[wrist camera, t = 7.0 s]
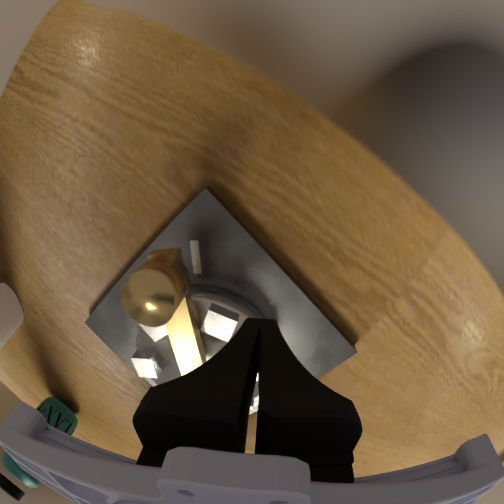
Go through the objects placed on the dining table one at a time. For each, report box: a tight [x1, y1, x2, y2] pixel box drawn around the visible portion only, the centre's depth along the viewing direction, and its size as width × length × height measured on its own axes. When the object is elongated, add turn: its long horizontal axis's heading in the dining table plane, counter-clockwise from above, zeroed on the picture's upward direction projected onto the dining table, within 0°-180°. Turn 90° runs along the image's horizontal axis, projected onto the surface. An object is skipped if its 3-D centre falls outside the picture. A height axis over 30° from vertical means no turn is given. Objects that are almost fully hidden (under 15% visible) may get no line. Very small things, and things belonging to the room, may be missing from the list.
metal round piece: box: [121, 247, 263, 409], centre depth 18 cm, size 15×11×7 cm
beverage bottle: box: [0, 397, 78, 501], centre depth 21 cm, size 6×7×20 cm
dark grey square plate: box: [85, 187, 357, 414], centre depth 23 cm, size 18×18×1 cm
